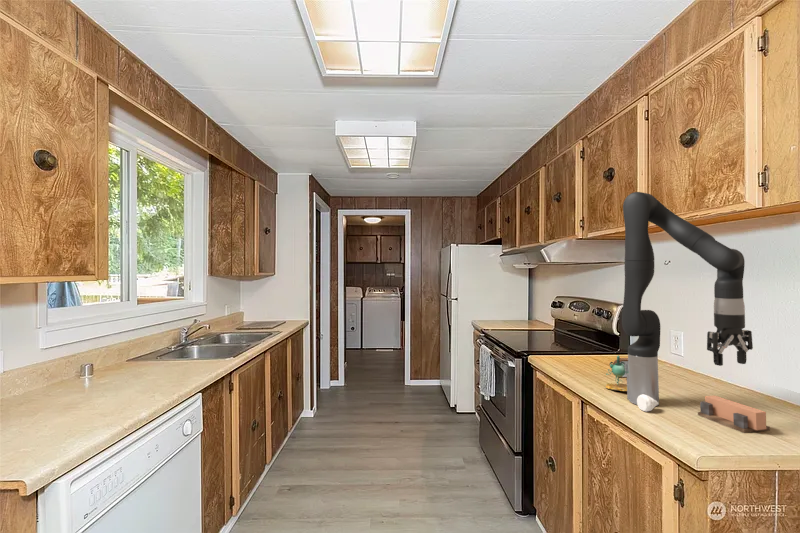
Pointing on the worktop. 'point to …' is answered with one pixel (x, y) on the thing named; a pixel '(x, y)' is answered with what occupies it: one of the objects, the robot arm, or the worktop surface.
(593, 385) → the worktop surface
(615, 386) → the frog figurine
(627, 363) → the tin
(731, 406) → the terracotta clay brick
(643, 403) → the garlic bulb
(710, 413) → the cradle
